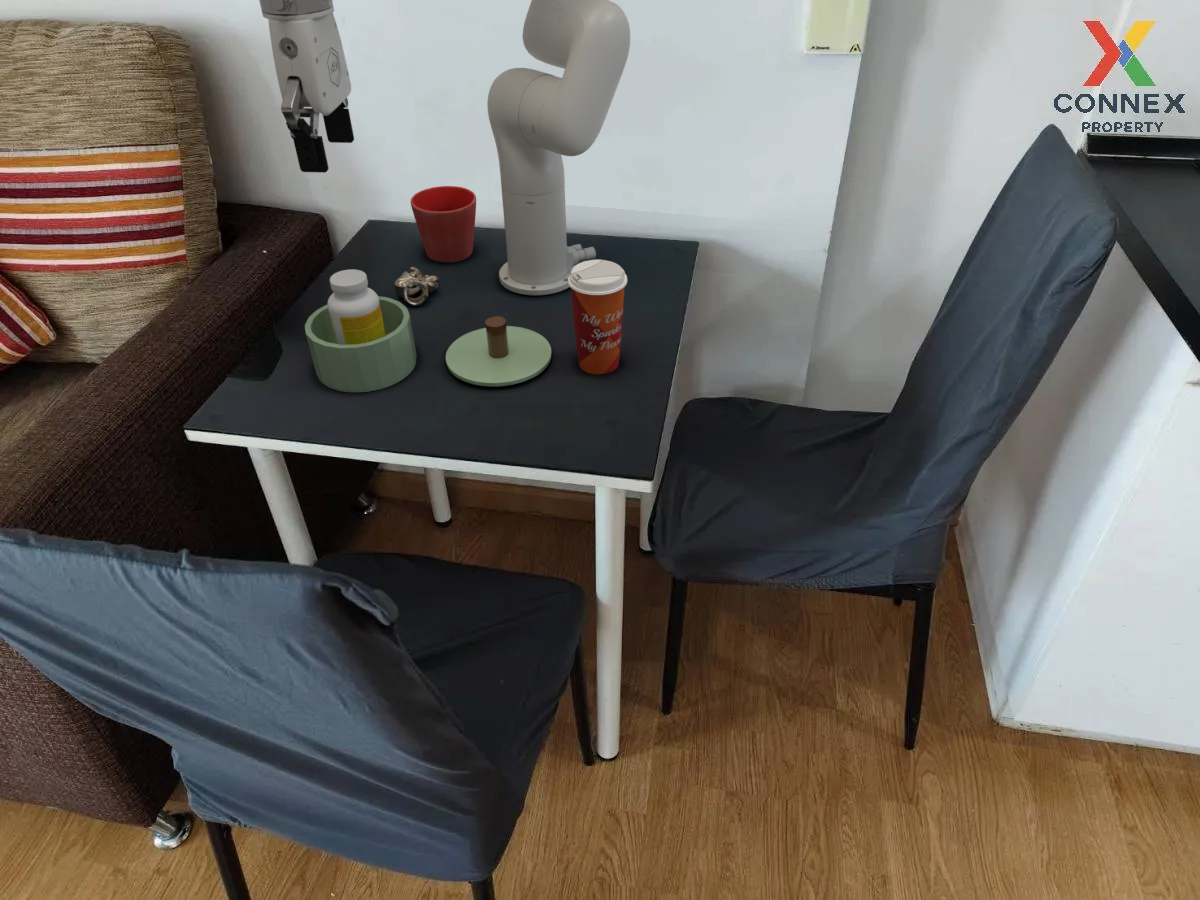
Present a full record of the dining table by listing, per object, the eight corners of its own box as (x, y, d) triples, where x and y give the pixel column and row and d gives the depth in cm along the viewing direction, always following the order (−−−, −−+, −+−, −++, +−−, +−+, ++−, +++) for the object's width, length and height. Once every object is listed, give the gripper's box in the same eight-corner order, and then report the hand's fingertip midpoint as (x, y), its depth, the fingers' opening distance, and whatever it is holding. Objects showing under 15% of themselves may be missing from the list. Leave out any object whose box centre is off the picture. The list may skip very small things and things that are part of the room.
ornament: (445, 303, 132) (442, 282, 130) (401, 311, 131) (397, 289, 128) (436, 280, 138) (433, 259, 136) (393, 287, 137) (389, 266, 134)
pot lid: (493, 323, 128) (489, 285, 124) (572, 352, 121) (571, 313, 117) (424, 368, 118) (418, 329, 114) (506, 402, 112) (502, 362, 108)
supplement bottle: (400, 359, 119) (385, 275, 111) (361, 380, 115) (342, 295, 107) (370, 343, 123) (353, 260, 115) (331, 362, 119) (311, 278, 111)
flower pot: (492, 243, 149) (487, 189, 142) (464, 271, 141) (457, 215, 134) (437, 235, 151) (430, 181, 145) (406, 262, 143) (397, 206, 137)
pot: (368, 329, 127) (359, 286, 122) (436, 357, 121) (430, 313, 116) (295, 372, 118) (283, 327, 114) (364, 404, 112) (354, 358, 108)
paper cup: (586, 384, 115) (584, 290, 106) (561, 357, 120) (557, 265, 111) (637, 369, 118) (639, 276, 109) (611, 343, 123) (610, 252, 114)
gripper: (301, 17, 86) (336, 184, 96) (354, -18, 99) (379, 132, 110) (228, 16, 86) (271, 183, 97) (290, -19, 99) (322, 131, 110)
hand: (328, 156), depth 103 cm, fingers open, 9 cm apart
